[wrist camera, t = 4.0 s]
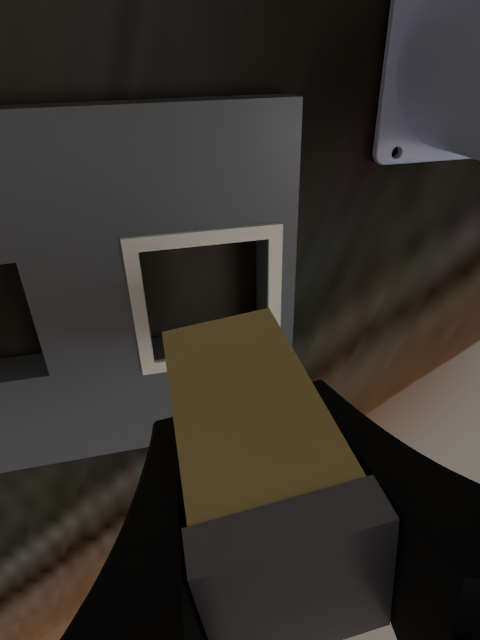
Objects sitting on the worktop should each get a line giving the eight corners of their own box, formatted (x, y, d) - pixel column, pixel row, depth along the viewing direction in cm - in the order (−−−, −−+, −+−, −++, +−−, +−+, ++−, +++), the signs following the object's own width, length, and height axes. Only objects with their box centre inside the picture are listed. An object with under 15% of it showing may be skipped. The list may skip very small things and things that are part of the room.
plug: (271, 304, 15) (399, 518, 8) (281, 391, 17) (389, 624, 10) (158, 329, 14) (187, 581, 7) (181, 416, 16) (221, 678, 9)
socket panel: (286, 93, 18) (304, 96, 16) (278, 398, 26) (290, 424, 24) (-229, 114, 15) (-280, 122, 13) (-58, 454, 23) (-73, 489, 21)
